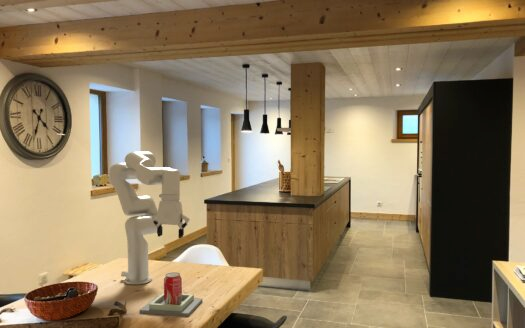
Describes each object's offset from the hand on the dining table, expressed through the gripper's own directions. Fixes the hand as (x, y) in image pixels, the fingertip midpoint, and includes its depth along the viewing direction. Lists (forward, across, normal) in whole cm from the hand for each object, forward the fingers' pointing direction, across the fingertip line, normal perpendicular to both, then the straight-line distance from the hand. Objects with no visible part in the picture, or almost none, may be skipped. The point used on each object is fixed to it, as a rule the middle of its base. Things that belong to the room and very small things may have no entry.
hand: (170, 236), depth 179 cm
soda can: (+24, +8, -13) cm, 28 cm away
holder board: (+25, +7, -13) cm, 29 cm away
